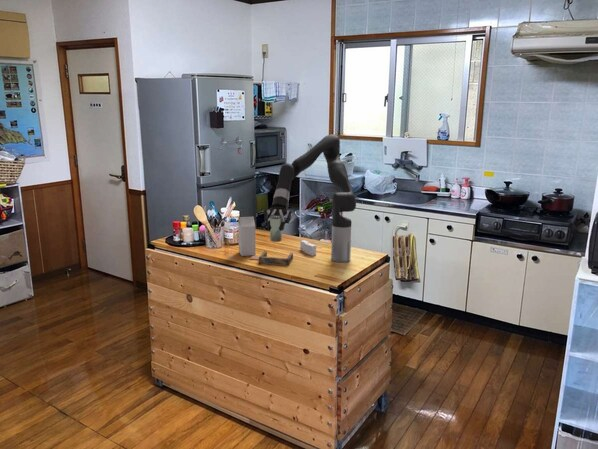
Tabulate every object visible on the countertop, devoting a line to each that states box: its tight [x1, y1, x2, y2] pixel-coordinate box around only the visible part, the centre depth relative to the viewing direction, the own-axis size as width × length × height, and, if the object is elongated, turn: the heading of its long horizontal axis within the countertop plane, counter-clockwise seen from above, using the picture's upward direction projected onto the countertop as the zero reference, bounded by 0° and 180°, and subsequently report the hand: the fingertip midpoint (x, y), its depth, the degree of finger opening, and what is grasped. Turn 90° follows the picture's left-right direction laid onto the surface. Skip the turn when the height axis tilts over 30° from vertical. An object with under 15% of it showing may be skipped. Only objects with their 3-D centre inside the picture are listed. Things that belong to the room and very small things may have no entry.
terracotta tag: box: [249, 255, 260, 261], centre depth 242 cm, size 5×5×1 cm
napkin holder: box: [299, 240, 317, 257], centre depth 253 cm, size 15×11×6 cm
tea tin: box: [269, 214, 283, 243], centre depth 235 cm, size 6×6×12 cm
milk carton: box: [238, 216, 257, 257], centre depth 247 cm, size 7×7×19 cm
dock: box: [258, 250, 294, 266], centre depth 238 cm, size 14×10×3 cm
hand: (274, 229), depth 233 cm, fingers closed on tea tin, 5 cm apart
